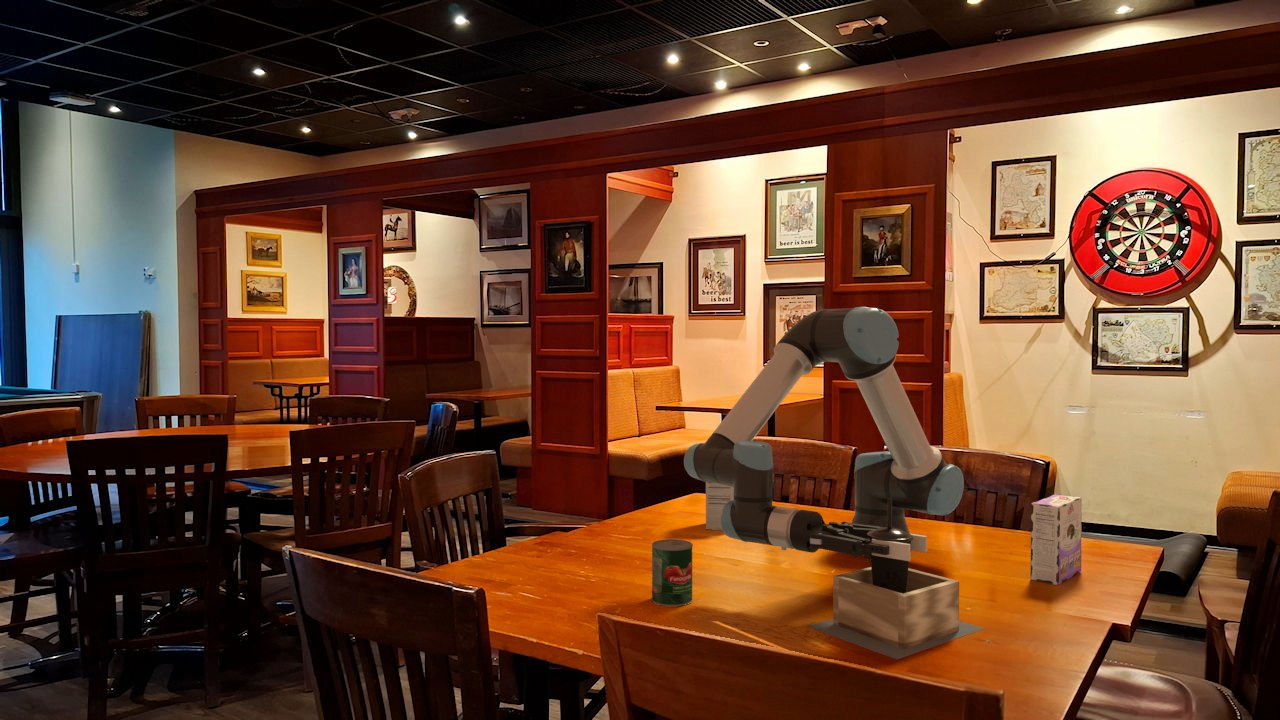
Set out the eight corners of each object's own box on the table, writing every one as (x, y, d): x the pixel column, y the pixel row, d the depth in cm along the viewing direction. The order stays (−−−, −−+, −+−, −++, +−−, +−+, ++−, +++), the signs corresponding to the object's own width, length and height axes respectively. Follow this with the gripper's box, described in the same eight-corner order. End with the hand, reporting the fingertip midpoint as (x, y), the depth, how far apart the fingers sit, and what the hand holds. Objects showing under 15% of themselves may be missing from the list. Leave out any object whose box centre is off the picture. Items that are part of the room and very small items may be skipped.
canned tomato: (679, 609, 158) (679, 550, 158) (644, 602, 163) (643, 545, 162) (699, 598, 165) (699, 542, 165) (664, 592, 169) (664, 537, 169)
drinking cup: (860, 606, 151) (860, 494, 150) (902, 604, 152) (902, 493, 151) (875, 620, 143) (876, 503, 143) (919, 619, 144) (920, 502, 143)
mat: (894, 603, 162) (894, 601, 162) (985, 630, 146) (985, 628, 146) (806, 628, 148) (806, 626, 148) (896, 661, 132) (897, 659, 132)
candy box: (1053, 567, 187) (1054, 493, 186) (1082, 572, 182) (1082, 496, 182) (1029, 580, 177) (1029, 501, 177) (1058, 585, 173) (1059, 505, 172)
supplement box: (707, 522, 234) (707, 461, 233) (741, 523, 233) (741, 462, 232) (705, 530, 224) (705, 467, 224) (740, 531, 223) (740, 467, 223)
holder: (887, 608, 157) (887, 562, 157) (959, 630, 145) (959, 581, 145) (833, 624, 149) (833, 576, 148) (904, 649, 136) (904, 596, 136)
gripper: (822, 539, 166) (938, 558, 152) (770, 560, 151) (894, 583, 136) (822, 501, 166) (939, 517, 152) (770, 518, 151) (895, 536, 136)
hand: (917, 548), depth 144 cm, fingers closed on drinking cup, 7 cm apart
